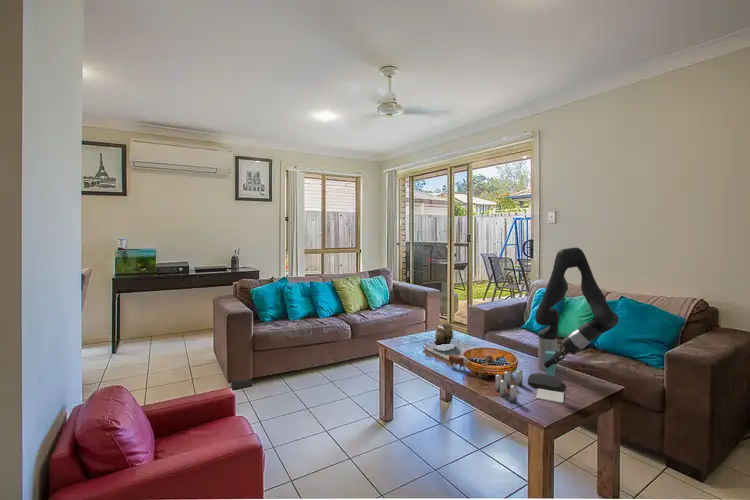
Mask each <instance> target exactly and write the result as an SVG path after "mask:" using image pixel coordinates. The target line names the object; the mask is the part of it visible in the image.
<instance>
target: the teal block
mask: <svg viewBox="0 0 750 500" xmlns="http://www.w3.org/2000/svg"><path fill="white" fill-rule="evenodd" d="M554 353H555V352H554V351H546V352H545V363H546V362H547V361H548V360H549V359H550V358H552V357H553V355H554ZM554 360H555V359H554ZM544 371H545V373H544V374H545V375H549V376H556V371H555V364H552V365H551V366H550V367H548V368H546V367H545V370H544Z"/></svg>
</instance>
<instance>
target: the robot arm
mask: <svg viewBox="0 0 750 500" xmlns="http://www.w3.org/2000/svg"><path fill="white" fill-rule="evenodd" d="M572 268H577V269H578V271H579V272H580V275H581V279H580V280H581V282H580V289H581V293H582V295H583V297H584V298H585V299H584V300H586V302H587V304H588V305H589V306H590V307H589V308H590V310H591V312H592V314H593V316H594V318H595V319H592V320H591V321H587V322H585V323H583V324H582V325H581V326H579V327H578V328H577V329H575V330H573V331H572V332H571V333H570V334H568V335H567V336H566V337H564V338H563V339H562V340H561V341H560V342H561V345H559V347H558V333H559V319H560V318H559V317H560V316H559V312H558V309H556V308H555V307H554V306H556V305H557V304H558V303H560V302H561V301H562V300H564V298H565V296H566V293H567V291H568V288H569V285H568V282H567V280H566V277H565V274H566V271H567V270H568V269H572ZM534 321H535V323H536V324H537V325H539V326H547V327H545V328H543V329H540V330H539V332H538V344H537V345H538V353H537V354H538V358H537V359H538V360H537V361H538V363H537V365H538V369H540V370H541V371H545V367H546V368H548V367H550V366H551V365H552V364H555V372H556V371H557V368H558V363H559V362H561V361H563V360H565V358H566V357H567V356H568V354H569V353H570V354H571V355H573V356H575V355H576V354H578V353H579V352H581V350H583V349H584V348H586V347H587V346H588V345H590V343H591V342H593V341H594V340H595V339H596V338H598V337H599V336H600V335H603V334H605V333H607V332H608V331H610V330H612V329H613V328H615V327H616V325H618V324H619V322H620V321H619V315H618V314H617V313H616V312H614V311H613V310H612V309H611V308H610V306H609V304H608V303H607V299H606V297H605V295H604V293H603V291H602V290H601V288H600V287H599V285H598V283H597V281H596V279H595V276H594V275H593V272H592V269H591V267H590V264H589V262H588V259H587V257H586V255H585V253H584V252H583V250H582V249H581V248H579V247H568V248H562V249H560V250H558V252H557V253H556V256H555V258H554V262H553V268H552V272H551V274H550V277H549V280H548V282H547V286H546V287H545V291H544V294H543V296H542V299H541V301H540V302H539V304H538V307H537V308H536V311H535V315H534ZM546 351H554V352H555V353H554V355H553V357H552V358H550V359H549V360H548V361H547V362H546V363H545V352H546ZM554 359H555V360H554Z"/></svg>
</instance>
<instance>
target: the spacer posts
mask: <svg viewBox="0 0 750 500" xmlns="http://www.w3.org/2000/svg"><path fill="white" fill-rule="evenodd" d="M511 375H512V374H511V371H509V370H504V372H503V374H498V373H497V374H495V391H497V392H499V396H500V397H501V398H507V395H508V391H507V390H508V388H509V402H510V403H511V404H517V403H518V387H522V386H523V385H524V384H523V383H524V382H523V370H521V369H516V371H515V384H511V381H512V380H511Z"/></svg>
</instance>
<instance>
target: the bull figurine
mask: <svg viewBox="0 0 750 500" xmlns="http://www.w3.org/2000/svg"><path fill="white" fill-rule="evenodd" d="M469 359H470V357H466V356H458V355H455V354H452V353H451V354H449V355H448V362H449V366H451V368H452V369H453V368H454V369H455V366H454V365H456V366H457V365H459V369H458V370H459V371H460V370H461V371H462V368H463V370H464V369H466V367H465V366H466V365H467V363H468V364H469V361H468V360H469ZM465 363H466V364H465ZM453 366H454V367H453Z"/></svg>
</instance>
